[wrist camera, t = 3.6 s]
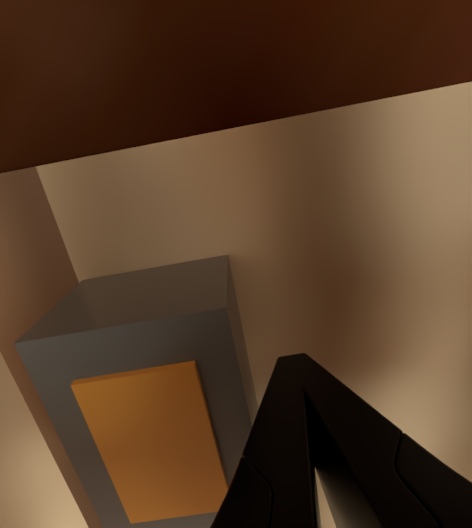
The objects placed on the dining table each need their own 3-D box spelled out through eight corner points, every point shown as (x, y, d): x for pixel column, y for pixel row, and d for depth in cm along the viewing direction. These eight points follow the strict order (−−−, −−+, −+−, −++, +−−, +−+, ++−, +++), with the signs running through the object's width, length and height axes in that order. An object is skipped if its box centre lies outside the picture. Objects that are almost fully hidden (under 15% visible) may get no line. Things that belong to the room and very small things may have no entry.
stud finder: (227, 254, 9) (226, 310, 6) (261, 426, 11) (273, 533, 8) (82, 280, 9) (8, 347, 6) (143, 443, 11) (110, 555, 8)
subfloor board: (493, 79, 8) (526, 70, 7) (452, 603, 16) (466, 632, 15) (-233, 220, 9) (-286, 229, 8) (59, 651, 17) (50, 680, 16)
